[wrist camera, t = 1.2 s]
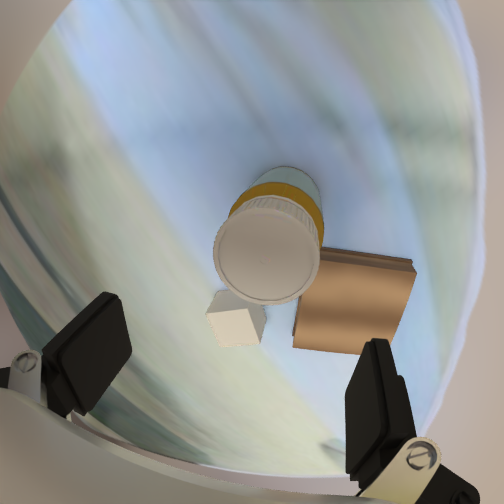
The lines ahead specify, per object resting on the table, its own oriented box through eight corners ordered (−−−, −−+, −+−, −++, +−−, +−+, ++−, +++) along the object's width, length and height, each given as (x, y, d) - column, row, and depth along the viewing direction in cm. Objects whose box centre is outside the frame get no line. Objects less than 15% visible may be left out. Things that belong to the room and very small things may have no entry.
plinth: (307, 245, 31) (306, 256, 29) (411, 259, 30) (419, 271, 27) (292, 333, 37) (290, 348, 34) (382, 342, 35) (385, 357, 32)
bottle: (332, 209, 29) (348, 280, 16) (276, 241, 32) (250, 327, 19) (295, 152, 28) (282, 174, 14) (240, 189, 30) (182, 240, 17)
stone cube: (217, 290, 36) (205, 313, 32) (255, 284, 35) (247, 308, 30) (230, 322, 38) (220, 347, 33) (266, 318, 37) (260, 343, 32)
